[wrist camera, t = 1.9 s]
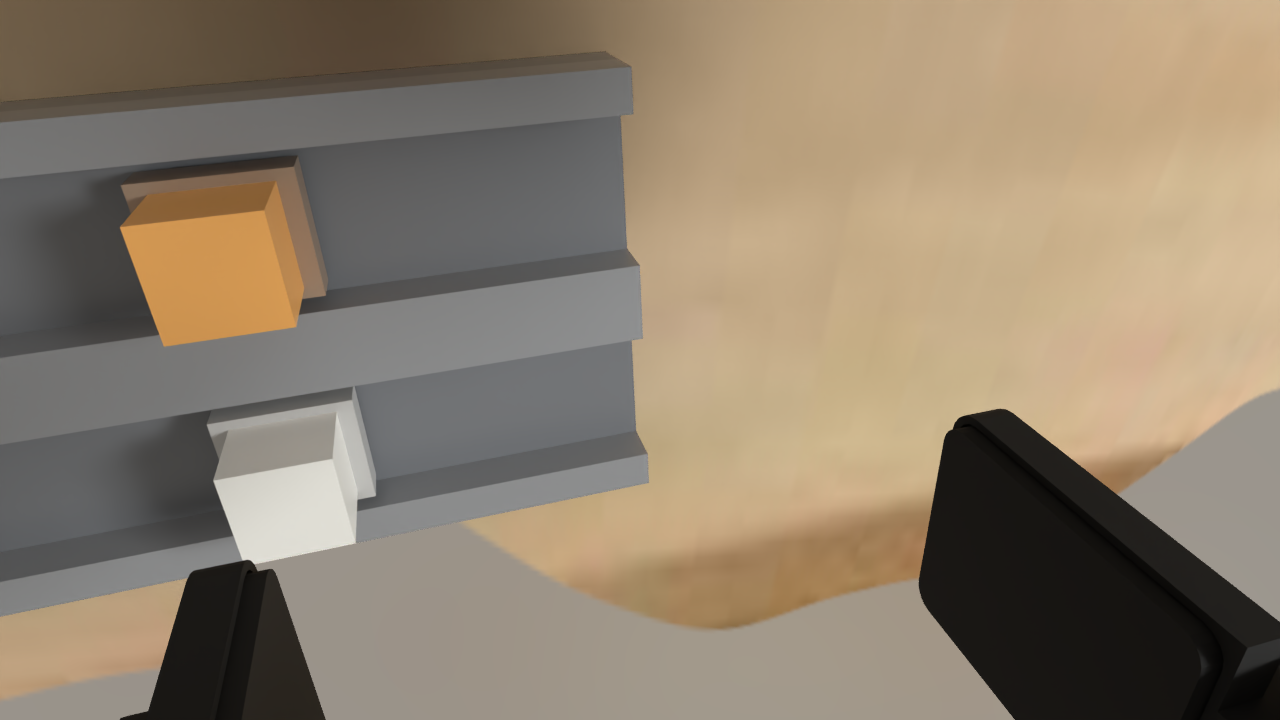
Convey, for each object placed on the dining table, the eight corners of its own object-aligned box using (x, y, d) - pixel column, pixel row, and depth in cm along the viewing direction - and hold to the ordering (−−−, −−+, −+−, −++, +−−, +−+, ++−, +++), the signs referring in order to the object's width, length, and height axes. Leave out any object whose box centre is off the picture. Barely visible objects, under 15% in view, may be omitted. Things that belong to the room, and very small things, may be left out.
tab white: (353, 380, 25) (348, 446, 22) (376, 474, 27) (375, 547, 24) (213, 403, 24) (189, 475, 21) (246, 499, 26) (228, 578, 23)
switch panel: (605, 51, 24) (634, 68, 22) (626, 437, 31) (651, 488, 28) (-725, 162, 18) (-932, 207, 15) (-329, 620, 25) (-420, 710, 22)
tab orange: (297, 155, 22) (284, 194, 19) (328, 279, 23) (320, 334, 20) (133, 172, 21) (89, 216, 18) (177, 299, 23) (145, 361, 19)
